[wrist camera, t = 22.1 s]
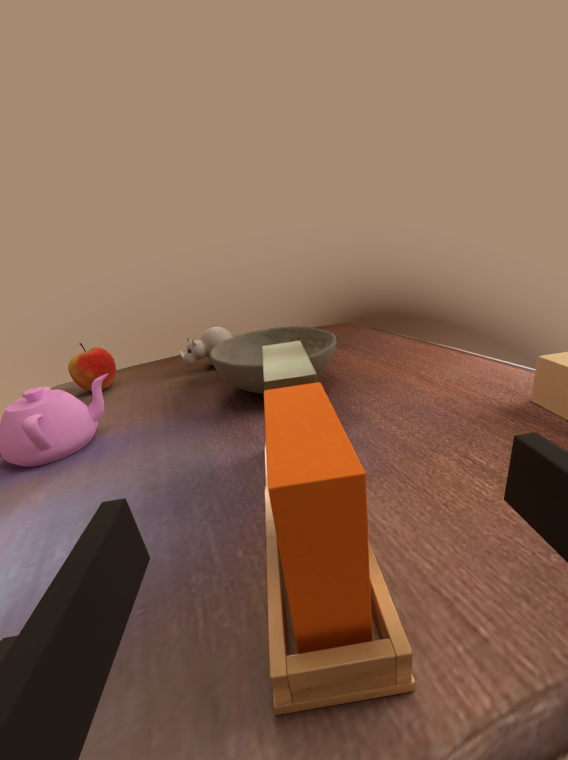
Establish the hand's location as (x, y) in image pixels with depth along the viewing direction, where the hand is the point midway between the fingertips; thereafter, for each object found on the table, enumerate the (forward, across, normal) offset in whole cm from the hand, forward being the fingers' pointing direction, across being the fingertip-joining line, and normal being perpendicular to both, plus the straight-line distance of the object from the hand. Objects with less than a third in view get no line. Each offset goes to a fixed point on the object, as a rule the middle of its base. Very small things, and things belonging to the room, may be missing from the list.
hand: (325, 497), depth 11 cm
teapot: (+33, -33, -14) cm, 49 cm away
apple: (+55, -38, -14) cm, 68 cm away
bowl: (+43, -1, -14) cm, 45 cm away
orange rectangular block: (+7, 0, -13) cm, 14 cm away
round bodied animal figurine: (+58, -15, -14) cm, 62 cm away
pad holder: (+12, 0, -14) cm, 18 cm away
